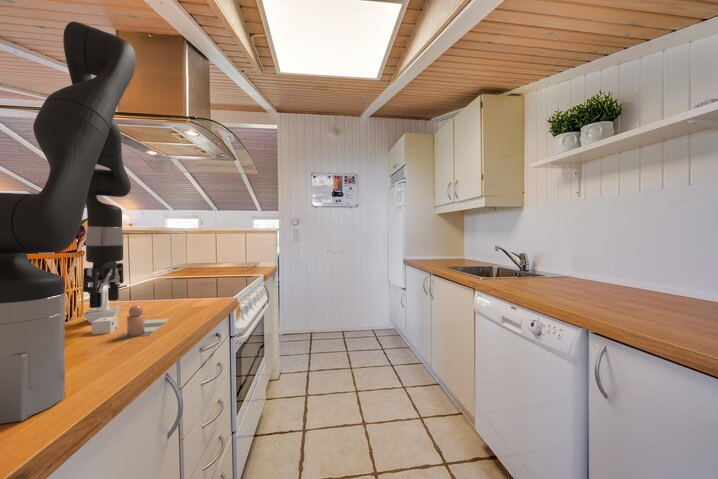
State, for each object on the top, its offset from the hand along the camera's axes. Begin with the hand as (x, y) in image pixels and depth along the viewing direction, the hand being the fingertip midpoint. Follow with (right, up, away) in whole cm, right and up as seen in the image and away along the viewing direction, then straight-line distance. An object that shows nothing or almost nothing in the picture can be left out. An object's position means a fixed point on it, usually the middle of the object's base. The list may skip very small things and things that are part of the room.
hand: (105, 303), depth 77 cm
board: (+8, -8, +4) cm, 12 cm away
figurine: (-9, -8, +10) cm, 16 cm away
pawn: (+10, -8, -2) cm, 13 cm away
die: (0, -8, 0) cm, 8 cm away
